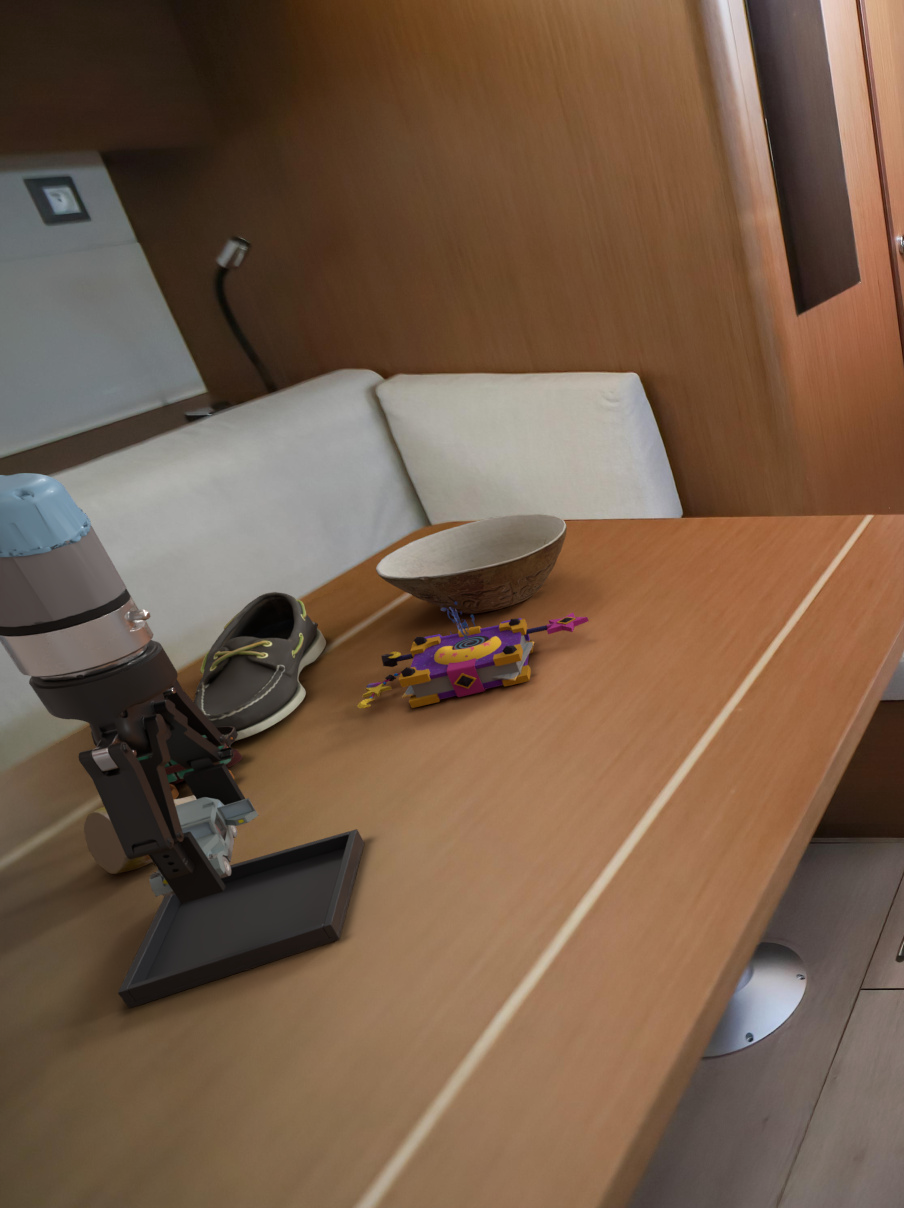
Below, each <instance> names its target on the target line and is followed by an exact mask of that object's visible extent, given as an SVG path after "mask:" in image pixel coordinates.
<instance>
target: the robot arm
mask: <svg viewBox="0 0 904 1208" xmlns="http://www.w3.org/2000/svg"><path fill="white" fill-rule="evenodd" d="M149 619H151V612H150V611H149V610H148V609H145V608H141V609H139V607H138V605H137V604H136V602H135V600H134V599H133V597H132V595H131V594H130V592H129V590H128V588H127V585H126V584H125V582H124V580H123V579H122V576H121V574H120V573H119V571H118V570H117V568H116V566H115V565H114V563H113V561H112V559H111V557H110V555H109V554H108V552H107V550H106V548H105V546H104V545H103V543H102V542H101V540H100V538H99V536H98V534H97V533H96V531H95V529H94V527H93V526H92V522H91V520H90V518H89V516H88V515H87V513H86V512H84V510H83V509H82V508H81V507H79V506H78V504H77V503H76V501H75V500H74V499H73V497H72V496H71V494H70V492H68V490H67V488H66V487H65V485H64V484H63V483H62V482H61V481H59V480H58V479H56V478H54V477H52V476H49V475H45V474H41V473H30V472H28V473H27V472H23V473H14V474H8V475H7V474H6V475H5V474H0V644H1V645H2V647H3V649H4V650H5V652H6V653H7V654H8V656H9V658H10V659H11V660H12V662H13V664H14V665H15V667H16V668H17V670H18V671H19V672H20V674H22V675H23V676H29V677H30V678H29V680H28V684H29V686H30V687H31V688H32V691H34V693H35V695H36V696H37V697H38V699H39V700H40V702H41V703H42V705H43V706H44V708H45V709H46V711H47V712H48V713H49V714H50V715H51V716H53V717H55V718H57V719H63V720H74V721H81V722H85V723H88V724H89V728H90V730H91V731H90V734H91V738H92V742H93V745H94V746H95V748H91V749H88V750H83V751H80V752H79V753H78V761H79V763H80V764H81V766H82V767H83V769H84V770H85V771H86V772H87V774H88V776H89V777H90V778H91V780H92V782H93V784H94V786H95V788H96V790H97V793H98V795H99V798H100V800H101V802H102V805H103V807H105V809H106V811H107V814H108V816H109V818H110V820H111V823H112V825H113V827H114V830H115V832H116V834H117V836H118V839H119V841H120V843H121V845H122V848H123V850H124V852H125V855H126V856H127V858H128V859H130V860H131V859H135V858H139V857H142V856H146V855H149V856H150V858H151V859H152V861H153V862H152V863H153V864H154V865H155V867H156V868H157V870H159V871H160V873H161V874H162V875H163V877H164V878H165V880H166V881H167V883H168V884H169V886H170V887H171V889H172V890H173V892H174V893H175V895H176V896H177V897H178V899H179V900H180V902H181V903H182V904H183V903H186V902H189V901H193V900H196V899H199V898H203V897H206V896H210V895H213V894H216V893H220V892H223V891H224V889H225V884H224V883H223V881H222V880H221V878H220V877H219V875H218V873H217V872H216V870H215V869H214V867H213V866H212V864H211V863H210V861H209V860H208V858H207V856H206V855H205V853H204V852H203V850H202V849H201V847H200V846H199V844H198V842H197V841H196V839H195V838H194V836H193V835H192V833H191V832H190V831H189V832H186V833H183V832H182V828H181V825H180V821H179V817H178V814H177V810H176V807H175V803H174V800H173V796H172V792H171V789H170V785H169V782H168V778H167V775H166V771H165V765H166V764H167V763H168V762H169V761H170V759H172V760H173V761H175V762H176V763H178V764H179V765H181V766H182V767H183V768H185V769H191V768H193V769H194V771H190V772H186V773H185V774H184V776H183V778H184V782H185V784H187V786H188V788H189V789H190V792H191V793H192V794H193V795H194V796H195V797H196V799H200V798H203V797H207V798H212V799H218V800H220V801H221V802H222V803H223V804H224V805H228V804H231V803H234V802H237V801H241V800H244V799H246V797H245V795H244V794H243V792H242V790H241V789H240V787H239V785H238V783H237V782H236V780H235V778H234V779H233V777H232V775H231V774H230V772H229V770H230V769H229V768H227V767H226V765H225V764H224V763H222V764H221V763H220V762H219V761H223V760H227V759H231V758H233V757H234V752H233V749H234V748H232V747H231V746H230V747H228V748H224V749H219V748H218V747H220V746H224V745H225V738H224V737H223V735H222V734H221V733H220V732H219V731H218V730H217V728H216V727H215V726H214V725H213V724H212V723H211V721H210V720H209V719H208V718H207V717H206V716H205V715H204V713H203V712H202V711H201V710H200V709H199V708H198V707H197V705H196V704H195V703H194V700H192V698H191V697H190V696H189V695H188V694H187V693H186V691H185V690H184V689H183V687H182V685H181V683H180V682H179V680H178V675H179V674H178V670H177V669H176V667H175V666H174V664H173V662H172V661H171V659H170V657H169V656H168V653H167V652H166V650H165V648H164V647H163V646H162V643H160V642H159V641H156V640H153V638H154V633H153V631H152V628H151V627H150V625H149V623H148V622H147V620H149ZM203 735H205V736H206V737H203ZM152 754H153V756H152V757H151V758H148V759H144V760H140V761H138V759H137V758H140V757H144V756H149V755H152Z"/></svg>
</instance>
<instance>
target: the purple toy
mask: <svg viewBox="0 0 904 1208" xmlns="http://www.w3.org/2000/svg"><path fill="white" fill-rule="evenodd" d="M445 600H446V599H445ZM454 604H455V605H457V602H454ZM441 605H443V604H441ZM453 606H454V605H453ZM439 608H440V611H442V612H446V615H447V618H448V619H449V620H451V622H452V623H453V624H456V625H455V626H457V629H458V630H457V633H452V632H451V631H449V632H450V635H444V636H442V634H440V633H438V634H433V635H428V636H416V637H415V638H414V639H413V642H412V645H411V647H410V651H409V652H410V653H407V654H402V653H401V652H400V651H391V652H390V653H385V654H382V655H380V656H381V657H380V658H381V661H382V666H383V667H388V668H394V667H396V666H398V662H403V661H408V660H411V659H412V661H411V665H410V667H407V666H406V667H405V668H403V669H402V668H401V669H402V670H401V671H400V672H398V673H397V672H395V673H393V674H388V675H387V676H386V677H384V679H385V680H383V681H381V682H372V683H368V684H367V685H366V686H365V691H366V692H365V693H363V694H361V696H362V698H363V700H361V701H359V702H358V704H357V708H358V709H368V708H370V707H371V706H372V704H369V703H371V702H373V701H375V698H373V697H374V696H376V697H380V696H381V694H382V693H383V692H387V691H390V690H393V688H392V686H391V685H388V686H387V683H389V682H390V683H391V682H393V681H395V680H396V679H397V677H398V676H399V677H398V682H399V685H400V686H401V688H406V687H407V689H406V690H405V692H404V693H403V695H402V696H401V697H402V699H405V698H408V697H410V698H409V700H408V703H409V705H410V707H411V709H414V708H418V707H423V706H426V705H431V704H436V703H440V702H441V700H444V699H448V698H453V697H456V696H457V698H461V697H467V696H470V695H475V694H479V693H483V692H486V690H488V689H492V688H497V687H500V686H501V687H502V686H503V687H504V688H505V687H509V686H514V685H517V684H523V683H526V682H530V679H531V673H532V670H531V667H530V664H528V663H529V657H530V654H534V653H533V652H534V646H535V645H534V644H535V641H533V640H532V639H530V635H531V634H535V633H540V632H545V631H546V632H547V635H551V634H554V633H558V632H563V631H565V632H569V633H574V630H575V627H578V626H581V625H583V624H585V623H588V622H590V620H589V617H588V616H576V615H575V613H574V612H571V613H569V614H568V615H565V616H564V617H561V618H554V619H548V623H547V624H546V625H541V626H535V627H530V628H528V624H527V621H526V618H522V617H519V618H518V617H517V618H510V620H509V619H508V620H504V621H500V623H499V624H498V625H497V624H496V625H493V626H488V627H484V628H483V627H482V626H480V625H477V626H476V624H475V616H474V613H473V614H470V615H469V616H470V618H471V619H470V621H471V622H472V624H473V626H471V627H469V624H468V622H467V621H466V619H463V618H461V621H462V622H461V621H460V617H459V614H460V615H462V614H463V613H462V612H461V611H460V613H459V612H458V611H457V612H456V611H454V608H453V609H452V608H451V607H450V608H451V610H448V609H447V608H445V607H444V608H442V607H441V606H440V607H439ZM455 610H456V609H455ZM450 611H451V612H450ZM450 615H451V616H452V617H453V618H451V617H450ZM367 697H368V698H367Z"/></svg>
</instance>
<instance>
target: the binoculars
mask: <svg viewBox="0 0 904 1208" xmlns="http://www.w3.org/2000/svg"><path fill="white" fill-rule="evenodd" d="M216 728H217V730H218V731H219V732H220V733H221V734H222V735H223V734H228V735H227V736H226V737H225V736H224V735H223V737H224V738H225V745H224V746H220V747H218V748H219V749H224V748H228V747H231V745H232V744H233V743H235V742H236V741H235V739H236V738H237V736H238V733H237V731H236V729H235V727H231V726H222V727H216ZM203 737H206V736H205V735H203ZM232 749H233V752H234V757H233V758H231V759H227V760H223V761H219V762H220V763H221V764H222V763H224V764H225V765H226V767H227V769H228V770H229V772H230V774H231V775H232V777H233V779H234V780H235V776H234V774H233V773H232V771H231V770H230V769H229V768H230V767H232V766H234V765H236V764H238V763H239V762H240V761H242V759H243V756H242V755H241V753H240V752H239V750H238V749H237V748H232ZM152 756H153V754H152V755H149V756H144V757H140V758H137V759H138V761H140V760H144V759H148V758H151V757H152ZM165 771H166V775H167V778H168V782H169V785H170V789H171V792H172V796H173V800H174V799H178V797H179V791H178V789H177V787H176V785H177V784H179V783H182V782H185V780H184V778H183V776H184V774H185V773H186V772H190V771H194V769H193V768H191V769H185V768H183V767H182V766H181V765H179V764H178V763H176V762H175V761H173V760H172V759H170V761H169V762H168V763H167V764H166V765H165Z"/></svg>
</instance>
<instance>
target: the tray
mask: <svg viewBox="0 0 904 1208" xmlns="http://www.w3.org/2000/svg"><path fill="white" fill-rule="evenodd" d="M362 837H363V836H362V835H361V833H360V832H359V830H358V829H357V828H355V829H352V830H350V831H345V832H341V833H338V834H334V835H330V836H327V837H323V838H321V839H316V840H313V841H310V842H307V843H303V844H300V845H296V846H293V847H289V848H286V849H282V850H278V851H274V852H272V853H269V854H265V855H262V856H261V855H260V856H258V857H257V856H256V857H254V858H251V859H248V860H244V861H239V862H237V863H233V864H230V866H231V875H230V876H227V877H224V878H221V880H222V881H223V883H224V884H225V889H224V891H223V892H220V893H216V894H213V895H210V896H206V897H203V898H199V899H196V900H193V901H189V902H186V903H183V904H182V903H181V902H180V900H179V899H178V897H177V896H176V895H175V894H174V895H171V896H168V897H165V896H163V898H162V901H161V903H160V905H159V907H158V909H157V911H156V913H155V915H154V917H153V919H152V921H151V923H150V925H149V927H148V930H147V931H146V934H145V936H144V938H143V940H142V941H141V944H140V946H139V948H138V949H137V952H136V954H135V956H134V958H133V960H132V963H131V964H130V966H129V969H128V971H127V973H126V975H125V977H124V979H123V980H122V983H121V985H120V987H119V988H118V989H119V990H118V991H117V995H118V996H119V997H120V998H121V999H122V1001H123V1002H124V1003H125V1005H126V1006H127V1007H128V1009H131V1008H135V1007H139V1006H141V1005H144V1004H146V1003H150V1002H153V1001H156V1000H158V999H159V1000H160V999H162V998H165V997H168V996H171V995H174V994H177V993H180V992H183V991H184V992H185V991H187V990H189V989H193V988H196V987H199V986H202V985H205V984H208V983H211V982H215V981H218V980H220V979H223V978H227V977H229V976H232V975H235V974H238V973H241V972H244V971H249V970H250V969H254V968H257V967H260V966H263V965H266V964H270V963H272V962H276V961H278V960H281V959H284V958H287V957H291V956H294V955H296V954H299V953H302V952H305V951H309V950H312V949H315V948H318V947H320V946H321V947H322V946H324V945H327V944H330V943H334V942H335V941H339V940H340V939H341V936H342V932H343V928H344V925H345V919H346V917H347V913H348V908H349V905H350V900H351V897H352V894H353V889H354V885H355V882H356V877H357V874H358V869H359V866H360V863H361V858H362V854H363V851H364V847H365V841H364V839H363V838H362Z"/></svg>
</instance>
